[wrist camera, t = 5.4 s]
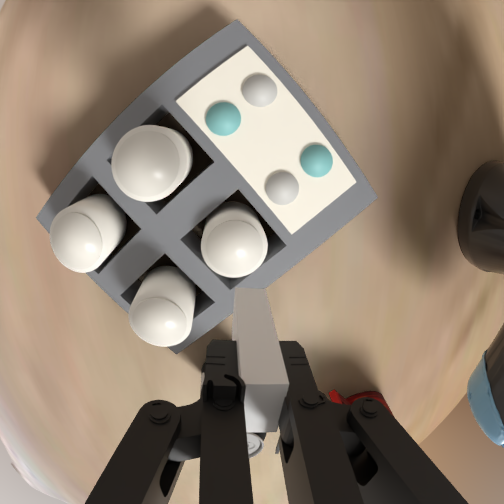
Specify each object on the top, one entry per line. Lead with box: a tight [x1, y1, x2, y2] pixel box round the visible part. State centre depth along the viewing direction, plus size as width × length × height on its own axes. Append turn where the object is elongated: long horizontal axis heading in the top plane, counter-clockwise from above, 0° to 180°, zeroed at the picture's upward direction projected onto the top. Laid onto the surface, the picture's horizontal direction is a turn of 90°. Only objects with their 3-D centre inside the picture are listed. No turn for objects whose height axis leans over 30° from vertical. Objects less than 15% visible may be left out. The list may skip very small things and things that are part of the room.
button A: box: [201, 202, 268, 278], centre depth 26 cm, size 5×5×5 cm
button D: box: [50, 194, 127, 273], centre depth 22 cm, size 5×5×5 cm
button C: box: [111, 125, 193, 202], centre depth 21 cm, size 5×5×5 cm
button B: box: [129, 266, 196, 347], centre depth 25 cm, size 5×5×5 cm
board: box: [36, 20, 378, 354], centre depth 25 cm, size 24×19×5 cm
